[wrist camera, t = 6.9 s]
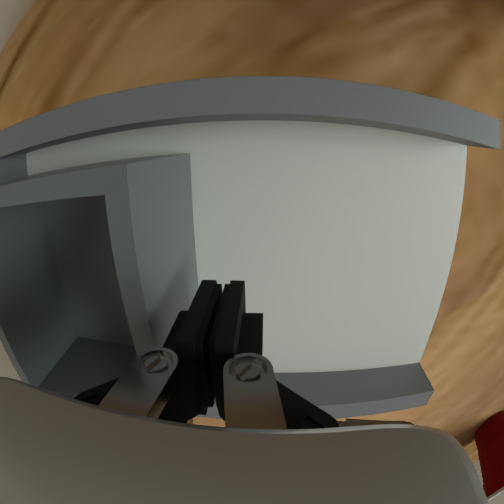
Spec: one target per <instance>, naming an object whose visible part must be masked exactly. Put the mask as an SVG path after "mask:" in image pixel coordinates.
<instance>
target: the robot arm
mask: <svg viewBox="0 0 504 504" xmlns="http://www.w3.org/2000/svg"><path fill="white" fill-rule="evenodd" d="M262 353H263V313H246V301H245V281H239V280H231V281H230V284H225V286H224V289H223V293H222V284H217V281H216V280H202V281H201V283H200V285H199V288H198V290H197V292H196V294H195V296H194V299H193V301H192V303H191V305H190V307H189V310H188V311H185V310H181V311H180V312H179V314H178V316H177V318H176V320H175V322H174V324H173V326H172V328H171V330H170V332H169V334H168V336H167V339H166V341H165V343H164V345H163V347H154V348H149V349H146V350H144V351H142V352H141V353H139V354H138V355H137V356H136V357H135V359H134V360H133V361H132V363H131V364H130V365H129V366H128V368H127V369H126V370H125V372H124V373H123V374H122V375H121V377H118V378H116V379H113V380H111V381H108V382H106V383H103V384H101V385H98V386H96V387H93V388H90V389H88V390H85V391H83V392H81V393H79V394H78V395H77V396H76V394H75V393H71V392H60V391H50V390H45V389H42V388H40V387H37V386H34V385H31V384H28V383H25V382H22V381H18V380H15V379H11V378H6V377H0V504H489V503H488V500H487V497H486V494H485V491H484V489H483V486H482V484H481V481H480V479H479V476H478V474H477V472H476V470H475V468H474V465H473V463H472V461H471V460H470V458H469V456H468V455H467V453H466V451H465V450H464V448H463V447H462V445H461V444H460V443H459V442H458V441H457V440H456V438H454V437H453V436H452V435H451V434H449V433H447V432H445V431H443V430H440V429H436V428H432V427H428V426H420V425H414V424H412V423H410V422H405V421H378V420H360V419H347V418H346V421H345V422H343V421H336V419H335V418H333V417H332V416H331V415H330V414H328V413H327V412H325V411H323V410H322V409H320V408H318V407H317V406H315V405H314V404H312V403H310V402H309V401H307V400H306V399H304V398H303V397H301V396H300V395H298V394H296V393H295V392H293V391H292V390H290V389H289V388H287V387H286V386H284V385H283V384H281V383H280V382H278V381H277V380H276V379H275V374H274V370H273V366H272V364H271V362H270V361H269V360H268V359H267V358H266V357H264V356H262ZM214 400H216V406H217V408H218V413H219V416H220V417H221V418H222V419H223V420H224V421H225V427H215V426H205V425H195V424H193V418H194V417H195V416H197V415H206V414H207V410H208V407H213V405H214Z"/></svg>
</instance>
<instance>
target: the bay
mask: <svg viewBox="0 0 504 504" xmlns="http://www.w3.org/2000/svg"><path fill="white" fill-rule="evenodd" d="M467 145H468V146H477V147H484V148H492V149H499V150H500V120H498V119H496V118H493V117H491V116H488V115H485V114H483V113H480V112H477V111H474V110H472V109H469V108H466V107H463V106H460V105H456V104H453V103H450V102H447V101H443V100H440V99H436V98H432V97H429V96H425V95H421V94H417V93H412V92H408V91H403V90H399V89H394V88H389V87H383V86H378V85H372V84H365V83H358V82H351V81H343V80H334V79H323V78H310V77H292V76H236V77H218V78H205V79H194V80H185V81H177V82H169V83H162V84H156V85H150V86H144V87H139V88H134V89H129V90H124V91H119V92H115V93H110V94H106V95H102V96H98V97H94V98H90V99H87V100H83V101H80V102H76V103H73V104H70V105H66V106H63V107H60V108H57V109H54V110H51V111H48V112H46V113H43V114H40V115H37V116H35V117H32V118H30V119H27V120H25V121H22V122H20V123H17V124H15V125H13V126H10V127H8V128H6V129H4V130H1V131H0V184H2V183H5V182H8V181H12V180H15V179H19V178H23V177H27V176H30V175H34V174H38V173H42V172H47V171H52V170H57V169H63V168H68V167H74V166H80V165H86V164H92V163H99V162H106V161H113V160H121V159H129V158H138V157H148V156H159V155H171V154H185V153H190V165H191V189H192V207H193V224H194V238H195V251H196V263H197V274H198V285H200V283H201V281H202V280H216V281H217V284H222V293H223V289H224V286H225V284H230V281H231V280H239V281H245V301H246V313H263V353H262V356H264V357H266V358H267V359H268V360H269V361H270V362H271V364H272V366H273V370H274V374H275V379H276V380H277V381H278V382H280V383H281V384H283V385H284V386H286V387H287V388H289V389H290V390H292V391H293V392H295V393H296V394H298V395H300V396H301V397H303V398H304V399H306V400H307V401H309V402H310V403H312V404H314V405H315V406H317V407H318V408H320V409H322V410H323V411H325V412H327V413H328V414H330V415H331V416H332V417H333V418H346V417H355V416H364V415H372V414H379V413H385V412H391V411H397V410H403V409H408V408H413V407H418V406H422V405H426V404H427V402H428V401H429V399H430V397H431V395H432V394H433V392H434V389H433V387H432V385H431V383H430V381H429V380H428V378H427V376H426V374H425V372H424V370H423V369H422V367H421V365H420V363H419V362H420V359H421V357H422V354H423V352H424V349H425V347H426V344H427V341H428V339H429V336H430V333H431V331H432V328H433V325H434V322H435V319H436V316H437V313H438V310H439V306H440V303H441V300H442V296H443V293H444V289H445V286H446V282H447V278H448V274H449V270H450V266H451V262H452V258H453V253H454V248H455V244H456V238H457V233H458V227H459V221H460V215H461V208H462V201H463V192H464V183H465V171H466V155H467ZM197 416H199V417H208V418H220V419H222V418H221V417H220V416H219V413H218V408H217V406H216V400H214V405H213V407H208V410H207V414H206V415H197Z"/></svg>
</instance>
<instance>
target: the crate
mask: <svg viewBox="0 0 504 504" xmlns="http://www.w3.org/2000/svg"><path fill="white" fill-rule="evenodd" d="M198 288H199V285H198V274H197V263H196V251H195V238H194V224H193V207H192V189H191V165H190V153H185V154H171V155H159V156H148V157H138V158H129V159H121V160H113V161H106V162H99V163H92V164H86V165H80V166H74V167H68V168H63V169H57V170H52V171H47V172H42V173H38V174H34V175H30V176H27V177H23V178H19V179H15V180H12V181H8V182H5V183H2V184H0V340H1V342H2V344H3V346H4V348H5V350H6V352H7V354H8V356H9V358H10V360H11V362H12V364H13V366H14V367H15V369H16V371H17V373H18V374H19V376H20V378H21V380H22V381H23V382H25V383H28V384H31V385H34V386H37V387H40V388H42V389H45V390H50V391H60V392H71V393H75V394H76V396H77V395H78V394H79V393H81V392H83V391H85V390H88V389H90V388H93V387H96V386H98V385H101V384H103V383H106V382H108V381H111V380H113V379H116V378H118V377H121V375H122V374H123V373H124V372H125V370H126V369H127V368H128V366H129V365H130V364H131V363H132V361H133V360H134V359H135V357H136V356H137V355H138V354H139V353H141V352H142V351H144V350H146V349H149V348H154V347H163V345H164V343H165V341H166V339H167V336H168V334H169V332H170V330H171V328H172V326H173V324H174V322H175V320H176V318H177V316H178V314H179V312H180V311H181V310H185V311H188V310H189V307H190V305H191V303H192V301H193V299H194V296H195V294H196V292H197V290H198Z"/></svg>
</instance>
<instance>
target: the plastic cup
mask: <svg viewBox="0 0 504 504" xmlns="http://www.w3.org/2000/svg"><path fill="white" fill-rule="evenodd" d="M475 438H476V439H475V441H476V445H477V449H478V453H479V454H478V456H479V460H480V466H481V472H482V477H483V484H484V485H483V489H484V491H485V494H486V497H487V500H488V501H489V500H491V499H492V498H494V497H496V496H497V495H499V494H501V493H503V492H504V411H501V412H499V413H497V414H495V415H494V416H492V417H491V418H490V419H489V420H487V421H486V422H485V423H484V424H483V425H482V426H481V427H480V428H479V429H478V430H477V432H476V434H475Z"/></svg>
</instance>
